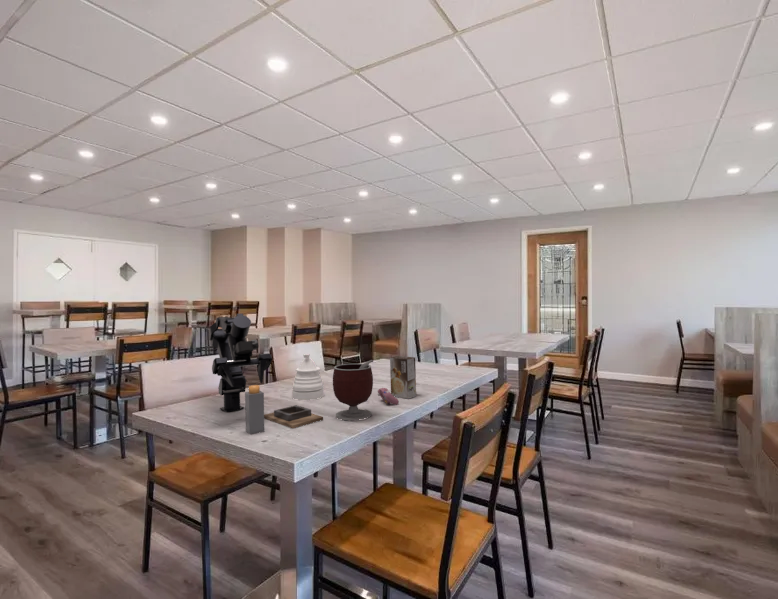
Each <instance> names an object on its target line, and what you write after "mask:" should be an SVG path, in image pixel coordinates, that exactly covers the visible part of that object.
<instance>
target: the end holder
mask: <svg viewBox="0 0 778 599" xmlns="http://www.w3.org/2000/svg"><path fill="white" fill-rule="evenodd" d="M265 418H266V420H268V421H271V422H273V423H277V424H278V425H282V426H285V427H288V428H290V429H296V427H297V428H299V426H300V427H304V426H306V424H307V425H310V423H311V424H313V422H314V423H317V422H316V421H318V422H320V420H321V421H324V417H323V416H322V415H319V414H315V413H312V409H311V408H307V407H303V406H301V405H298V404H296V405H291V406H287V407H282V408H279V409H274V410H273V412H270V413H264V419H265ZM303 425H304V426H303Z"/></svg>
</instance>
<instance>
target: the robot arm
mask: <svg viewBox="0 0 778 599" xmlns="http://www.w3.org/2000/svg"><path fill="white" fill-rule="evenodd" d="M251 323H252V320H251V319H250V318H249V317H247V316H246V315H244V313H236V316H235V317H228V316H220V317H216V318H215V322H214V323H213V324H211V325H210V327H209V329H208V330H209V332H208V340H209V341H210V343H211V346H212V347H214V348H216V349H217V352H218V357H215V358H214V359H213V361H212V366H211V370H212V371H211V372H212V375H217V376H220V379H219V383H218V386H217V387H218V394H219V395H220V396H223V406H222V407H220V408H219V410H222V411H223V412H226V413H230V412H235V411H239V410H243V409H244V410H245V406H242V405H241V393H245V392H246V386H247V379H246V376H245V375H244V373H243V370H242V367H249V366H256V367H257V374H258V380H259V383H261V384H262V383H263V382H264V372H265V371H267V369H269V368H270V366H271V363H272V360H273V356H272V354H271V353H268V352H267V353H259V354H258V357H257V358H251V357H253V351H255V350H258V349H259V347H260V346H259V341H258V339H251V340H247V338H246V337H247V336H248V335H249V332H250V331H249V330H250V326H251V325H252V324H251Z"/></svg>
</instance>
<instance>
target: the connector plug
mask: <svg viewBox="0 0 778 599" xmlns="http://www.w3.org/2000/svg"><path fill="white" fill-rule="evenodd" d="M260 386H261V385H259V384H252V385H248V391H245V392H244V402H245V403H244V405H245V406H244V411H245V414H244V415H245V416H244V417H245V420H244V421H245V431H246V433H248V435H254V434H258V433H259V432H260V433H264V432H265V418H264V415H265V398H264V395H265V393H264V392H263V391H261V389H260Z"/></svg>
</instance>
